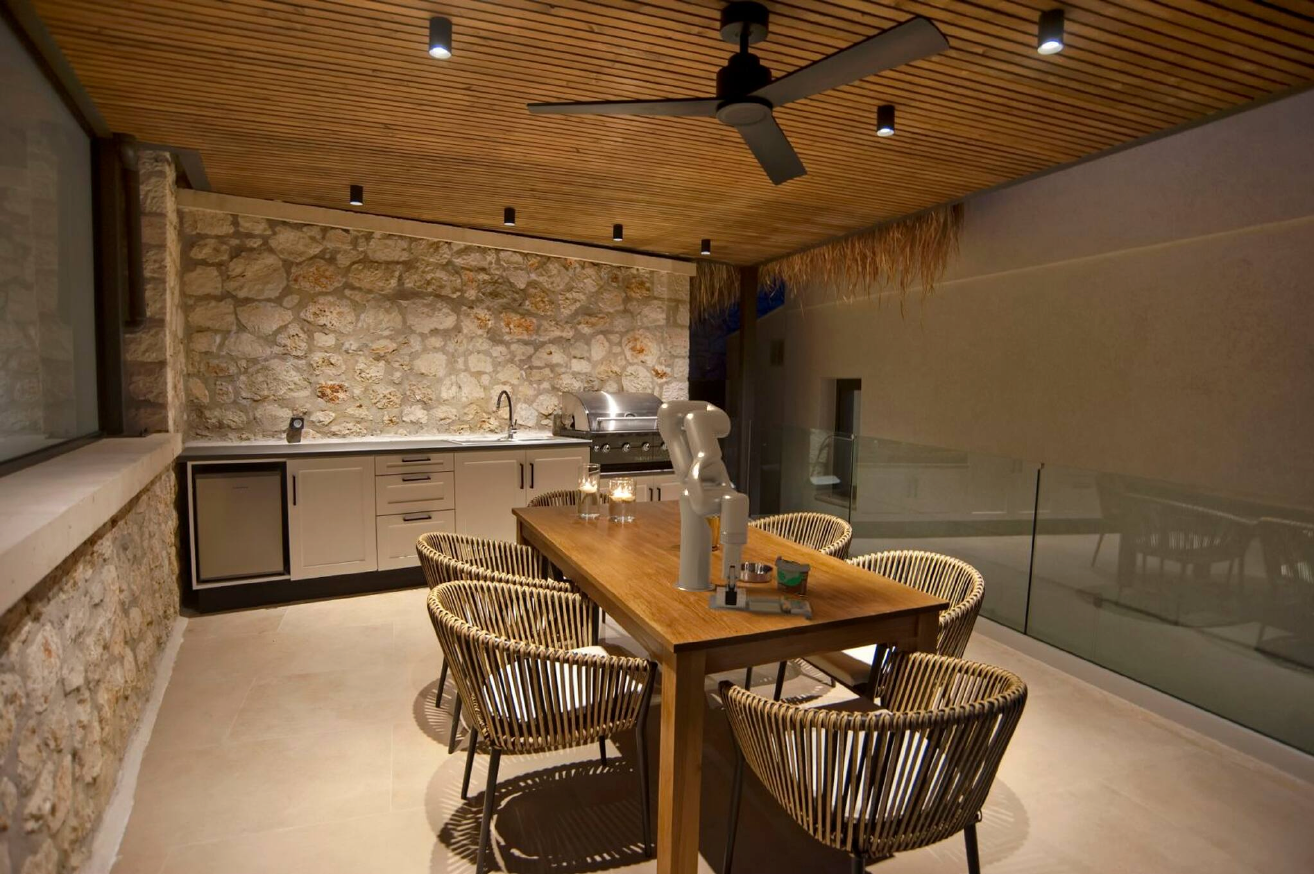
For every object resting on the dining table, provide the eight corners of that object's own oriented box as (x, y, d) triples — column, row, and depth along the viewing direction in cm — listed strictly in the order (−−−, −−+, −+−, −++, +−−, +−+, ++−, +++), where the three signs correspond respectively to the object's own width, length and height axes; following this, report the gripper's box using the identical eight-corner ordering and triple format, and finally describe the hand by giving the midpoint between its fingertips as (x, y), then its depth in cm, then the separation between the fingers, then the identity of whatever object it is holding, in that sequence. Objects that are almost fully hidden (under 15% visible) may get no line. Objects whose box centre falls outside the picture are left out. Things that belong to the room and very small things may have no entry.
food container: (764, 589, 217) (766, 557, 217) (778, 586, 221) (780, 555, 220) (795, 600, 208) (797, 566, 207) (809, 597, 211) (811, 564, 211)
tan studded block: (716, 600, 201) (717, 586, 200) (744, 602, 200) (745, 588, 199) (715, 607, 195) (716, 592, 194) (745, 609, 194) (745, 594, 194)
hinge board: (709, 597, 207) (710, 593, 207) (806, 604, 204) (807, 600, 204) (708, 612, 193) (708, 608, 193) (812, 619, 190) (812, 615, 190)
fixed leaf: (780, 603, 201) (780, 594, 200) (807, 605, 200) (808, 596, 200) (782, 613, 191) (782, 605, 191) (811, 615, 190) (811, 607, 190)
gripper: (720, 530, 205) (717, 591, 206) (719, 543, 188) (716, 610, 189) (746, 532, 204) (743, 593, 205) (747, 545, 187) (744, 612, 188)
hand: (730, 600), depth 197 cm, fingers closed on tan studded block, 6 cm apart
